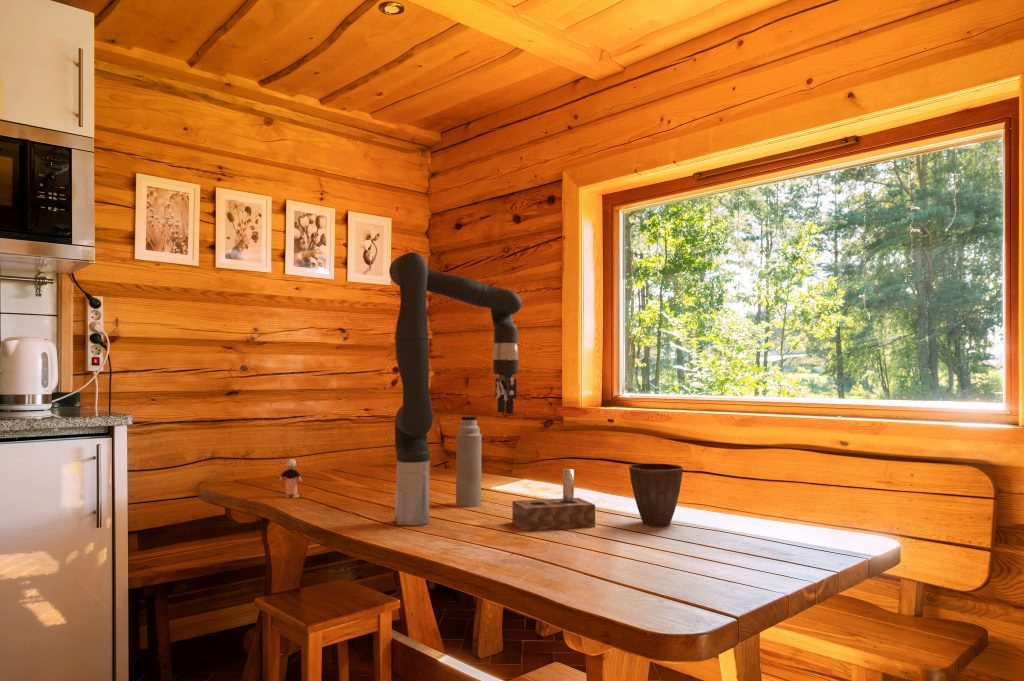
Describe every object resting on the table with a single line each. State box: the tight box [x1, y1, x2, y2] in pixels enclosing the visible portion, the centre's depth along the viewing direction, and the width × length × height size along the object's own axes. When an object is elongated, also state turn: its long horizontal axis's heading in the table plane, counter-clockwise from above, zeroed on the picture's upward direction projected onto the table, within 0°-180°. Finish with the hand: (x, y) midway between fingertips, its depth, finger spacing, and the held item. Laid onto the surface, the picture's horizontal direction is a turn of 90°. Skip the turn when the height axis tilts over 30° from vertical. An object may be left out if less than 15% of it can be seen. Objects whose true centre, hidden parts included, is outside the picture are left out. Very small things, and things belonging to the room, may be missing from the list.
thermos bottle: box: [455, 416, 483, 508], centre depth 240 cm, size 8×8×28 cm
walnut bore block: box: [511, 497, 596, 532], centre depth 209 cm, size 20×12×6 cm, turn 107°
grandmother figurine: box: [278, 458, 303, 499], centre depth 253 cm, size 8×4×13 cm, turn 94°
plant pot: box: [628, 463, 684, 527], centre depth 211 cm, size 15×15×16 cm
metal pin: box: [562, 468, 575, 504], centre depth 210 cm, size 3×3×14 cm
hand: (505, 413), depth 223 cm, fingers open, 8 cm apart
